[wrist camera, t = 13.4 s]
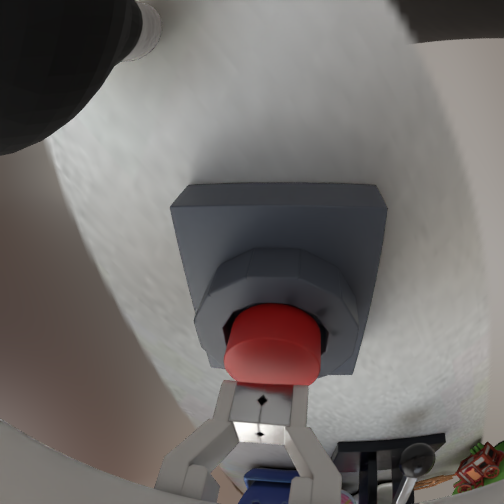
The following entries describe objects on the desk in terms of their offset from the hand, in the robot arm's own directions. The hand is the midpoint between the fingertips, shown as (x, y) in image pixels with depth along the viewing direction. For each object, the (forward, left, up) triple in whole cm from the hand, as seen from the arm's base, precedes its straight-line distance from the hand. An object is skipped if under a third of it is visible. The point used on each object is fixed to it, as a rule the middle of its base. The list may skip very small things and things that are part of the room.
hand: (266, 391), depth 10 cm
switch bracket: (+25, +12, -6) cm, 28 cm away
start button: (0, 0, -3) cm, 3 cm away
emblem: (+46, +25, -5) cm, 53 cm away
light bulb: (-12, -5, -7) cm, 15 cm away
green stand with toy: (+29, +29, -1) cm, 41 cm away
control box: (0, 0, -6) cm, 6 cm away
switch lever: (+21, +12, 0) cm, 24 cm away
